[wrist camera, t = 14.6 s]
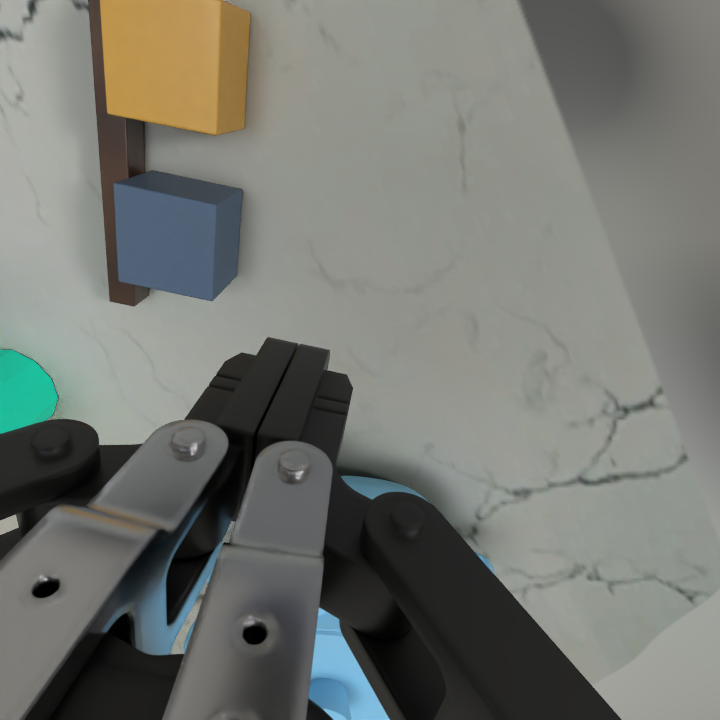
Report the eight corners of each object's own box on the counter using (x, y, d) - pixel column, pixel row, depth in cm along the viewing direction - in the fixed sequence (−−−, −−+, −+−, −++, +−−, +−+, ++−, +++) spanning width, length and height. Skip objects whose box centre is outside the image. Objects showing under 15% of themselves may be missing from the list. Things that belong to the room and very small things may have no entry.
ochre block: (145, -9, 24) (97, -25, 20) (251, 12, 23) (221, -1, 20) (148, 110, 26) (106, 114, 22) (244, 129, 26) (216, 135, 22)
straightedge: (100, -152, 21) (75, -171, 20) (135, -145, 21) (112, -164, 20) (125, 290, 31) (109, 301, 29) (149, 295, 31) (134, 307, 29)
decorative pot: (357, 626, 44) (334, 828, 32) (206, 524, 40) (115, 713, 28) (506, 537, 37) (547, 751, 25) (343, 404, 33) (301, 585, 21)
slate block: (151, 169, 27) (112, 182, 24) (243, 189, 27) (216, 204, 24) (153, 258, 30) (117, 281, 26) (237, 276, 30) (212, 302, 26)
